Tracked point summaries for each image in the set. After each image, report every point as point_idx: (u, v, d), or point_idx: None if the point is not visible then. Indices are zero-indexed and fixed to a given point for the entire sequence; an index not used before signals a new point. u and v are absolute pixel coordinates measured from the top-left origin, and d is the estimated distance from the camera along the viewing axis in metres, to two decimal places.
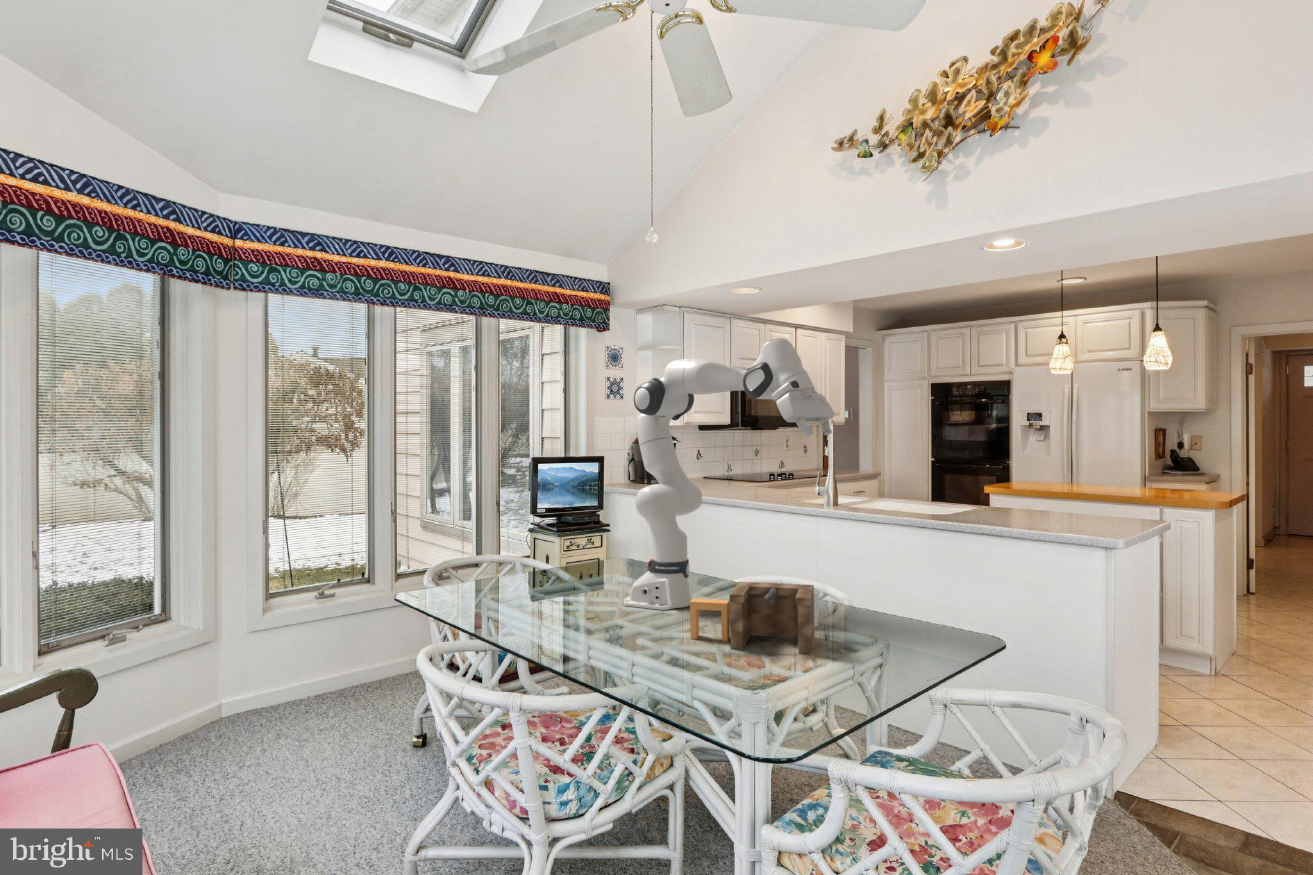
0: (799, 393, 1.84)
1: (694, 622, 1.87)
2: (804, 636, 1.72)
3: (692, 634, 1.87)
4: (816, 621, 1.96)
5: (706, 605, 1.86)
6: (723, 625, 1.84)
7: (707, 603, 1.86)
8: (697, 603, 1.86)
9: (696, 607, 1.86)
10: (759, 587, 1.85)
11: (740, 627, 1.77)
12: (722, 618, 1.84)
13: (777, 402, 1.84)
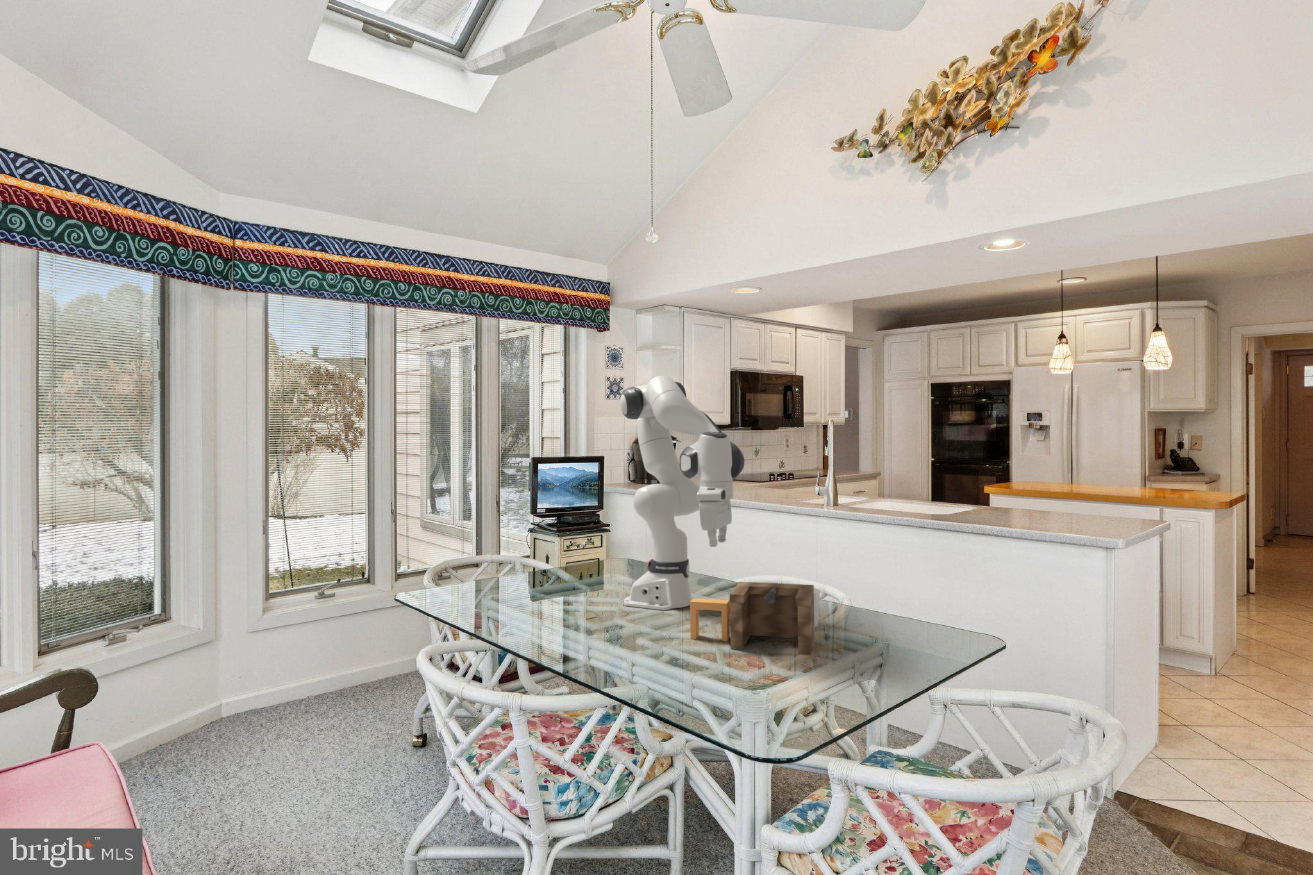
0: (722, 503, 1.80)
1: (694, 622, 1.87)
2: (804, 636, 1.72)
3: (692, 634, 1.87)
4: (816, 621, 1.96)
5: (706, 605, 1.86)
6: (723, 625, 1.84)
7: (707, 603, 1.86)
8: (697, 603, 1.86)
9: (696, 607, 1.86)
10: (759, 587, 1.85)
11: (740, 627, 1.77)
12: (722, 618, 1.84)
13: (701, 505, 1.78)
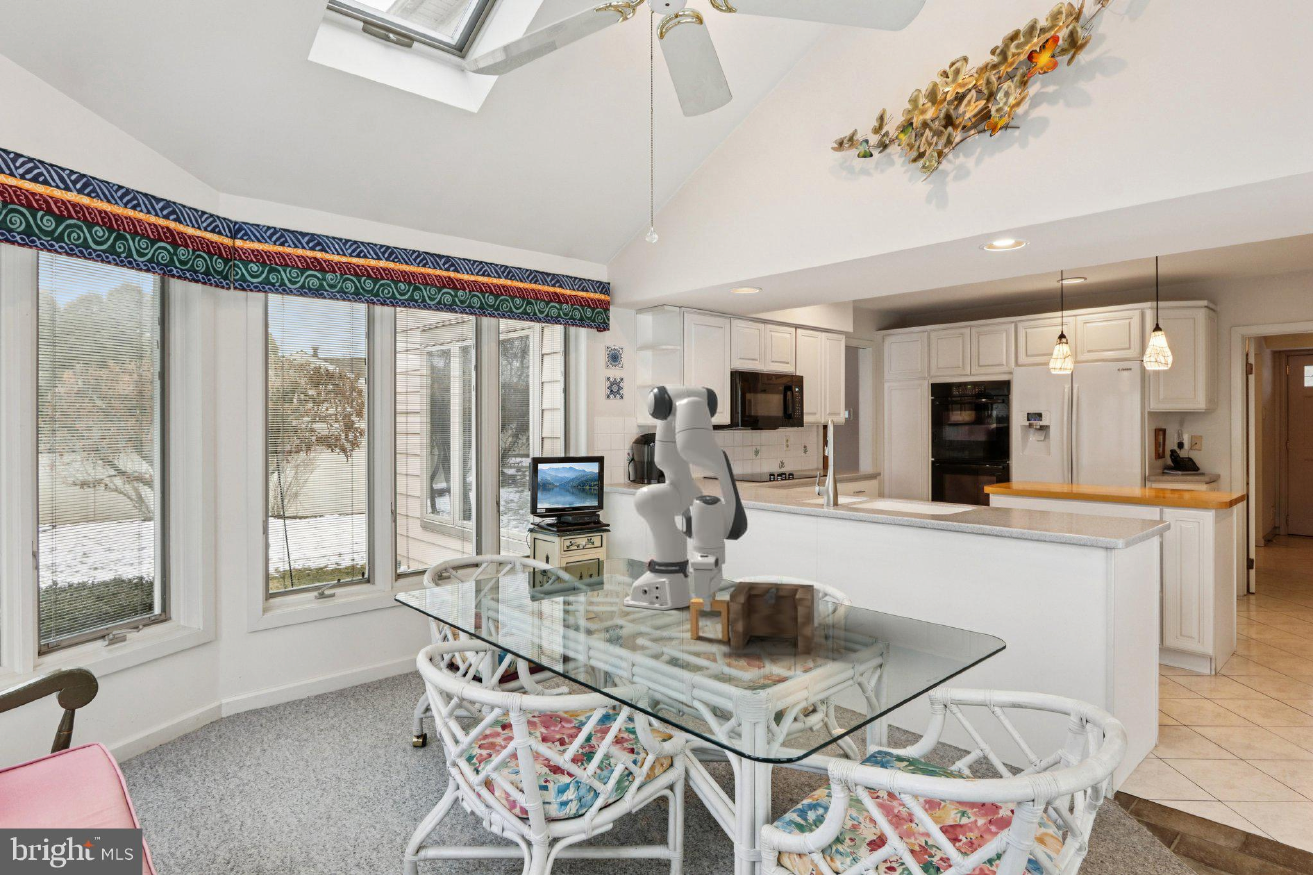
0: (715, 570, 1.82)
1: (694, 622, 1.87)
2: (804, 636, 1.72)
3: (692, 634, 1.87)
4: (816, 621, 1.96)
5: None
6: (723, 625, 1.84)
7: None
8: (697, 603, 1.86)
9: (696, 607, 1.86)
10: (759, 587, 1.85)
11: (740, 627, 1.77)
12: (722, 618, 1.84)
13: (694, 574, 1.79)
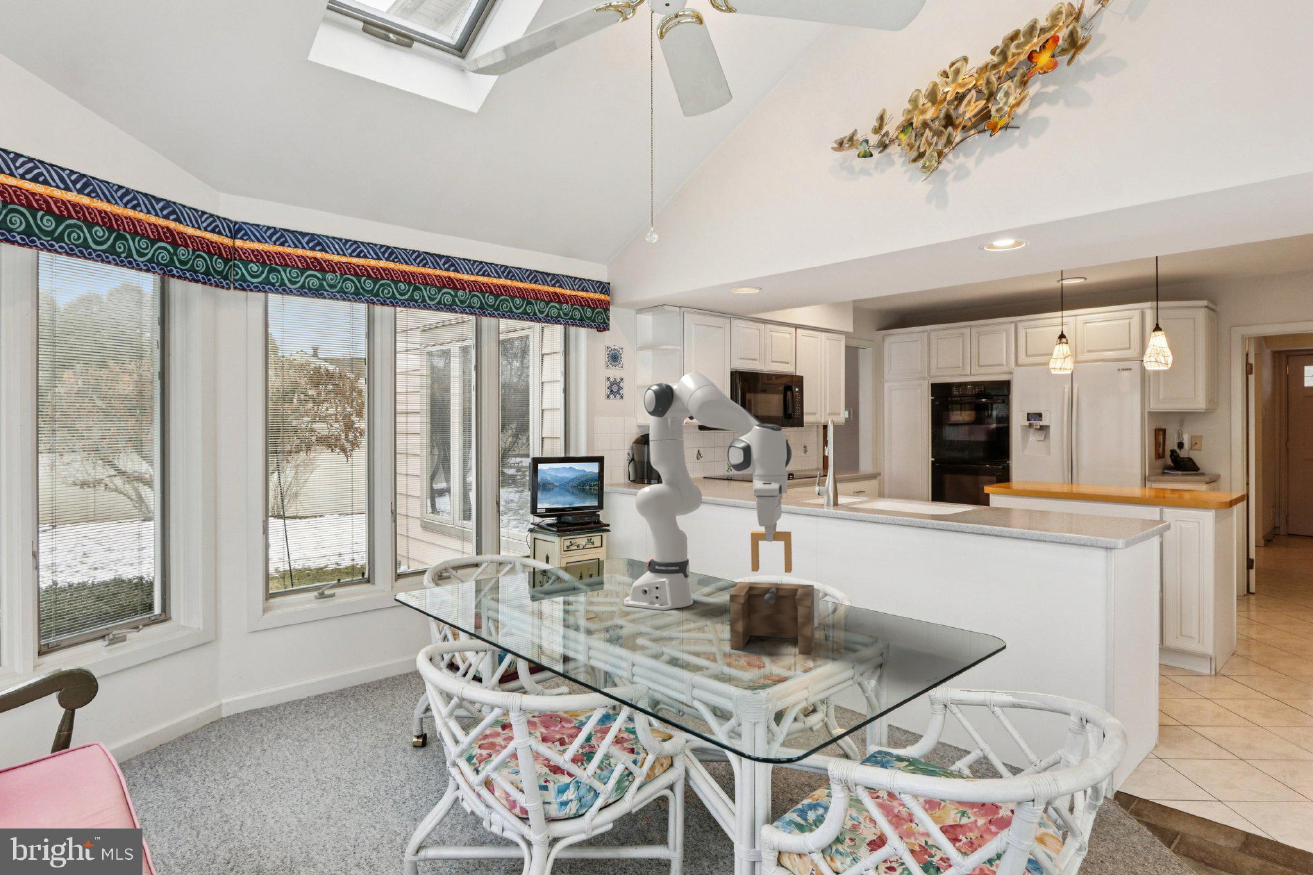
0: (778, 498, 1.75)
1: (755, 554, 1.80)
2: (804, 636, 1.72)
3: (753, 567, 1.80)
4: (816, 621, 1.96)
5: None
6: (786, 556, 1.77)
7: None
8: (758, 534, 1.79)
9: (757, 538, 1.79)
10: (759, 587, 1.85)
11: (740, 627, 1.77)
12: (785, 549, 1.78)
13: (758, 501, 1.72)
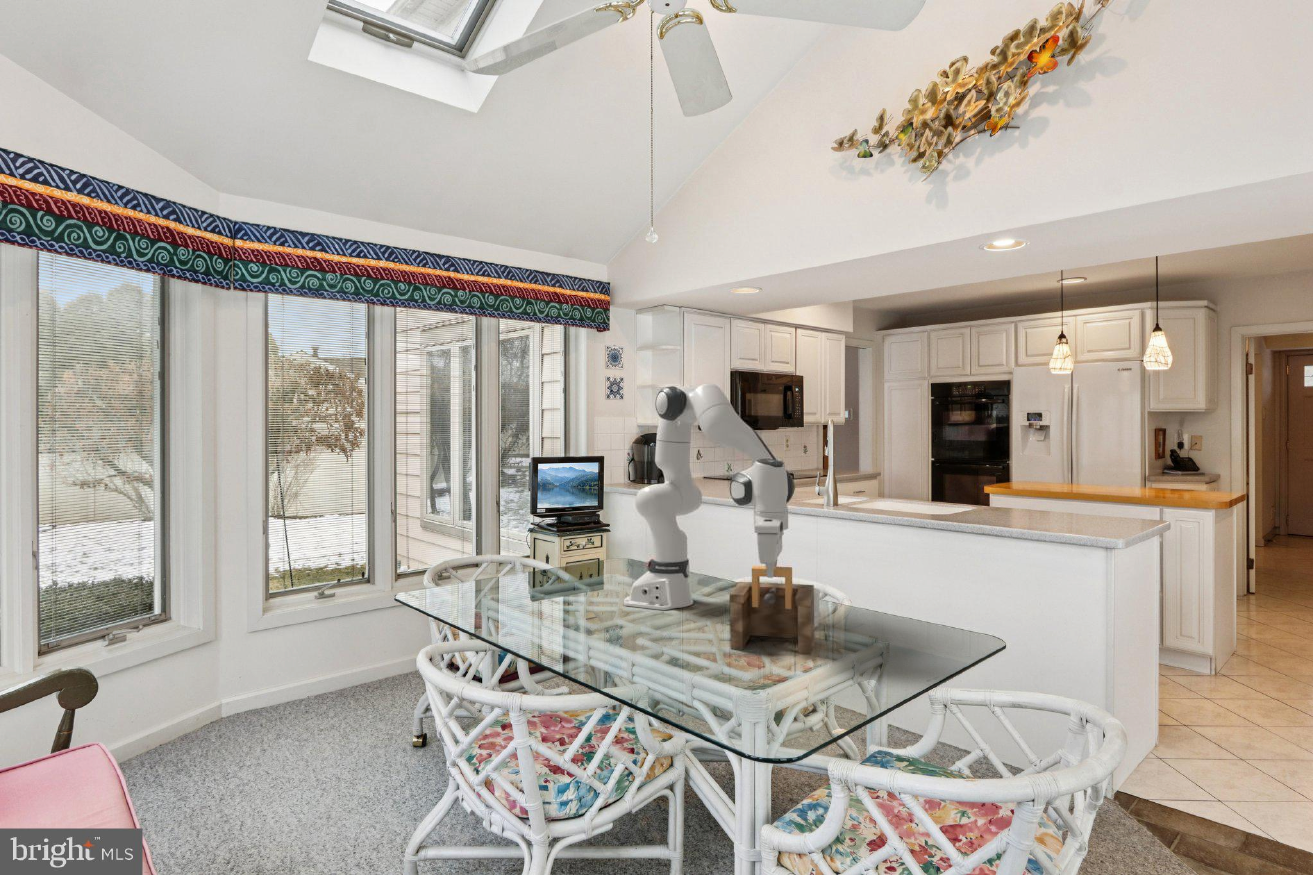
0: (779, 535, 1.75)
1: (756, 590, 1.80)
2: (804, 636, 1.72)
3: (754, 602, 1.80)
4: (816, 621, 1.96)
5: None
6: (787, 592, 1.78)
7: None
8: (759, 570, 1.80)
9: (758, 574, 1.80)
10: None
11: (740, 627, 1.77)
12: (786, 585, 1.78)
13: (759, 538, 1.72)
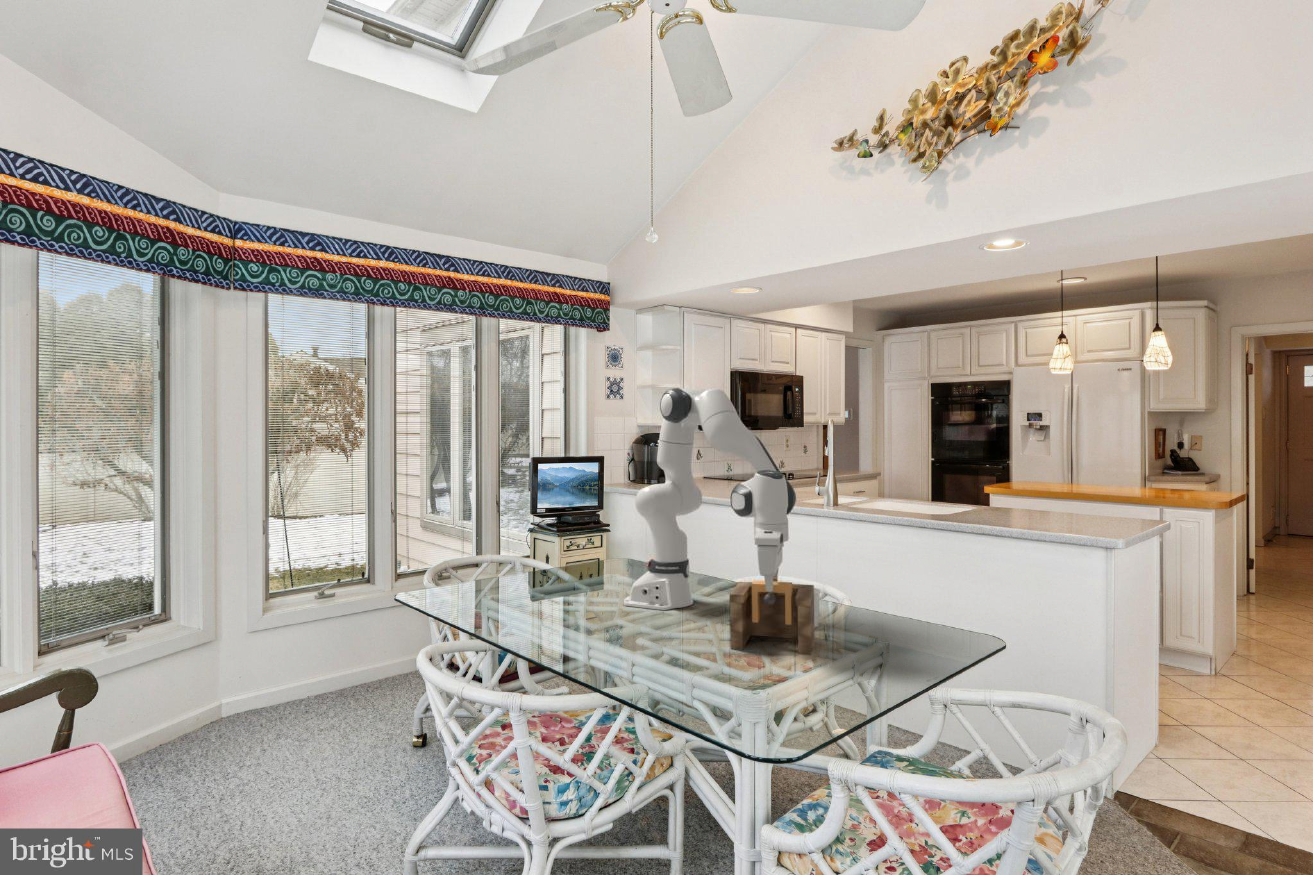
0: (779, 547, 1.75)
1: (756, 605, 1.80)
2: (804, 636, 1.72)
3: (754, 617, 1.80)
4: (816, 621, 1.96)
5: None
6: (787, 608, 1.78)
7: None
8: (759, 585, 1.80)
9: (758, 589, 1.80)
10: None
11: (740, 627, 1.77)
12: (786, 601, 1.78)
13: (759, 550, 1.72)
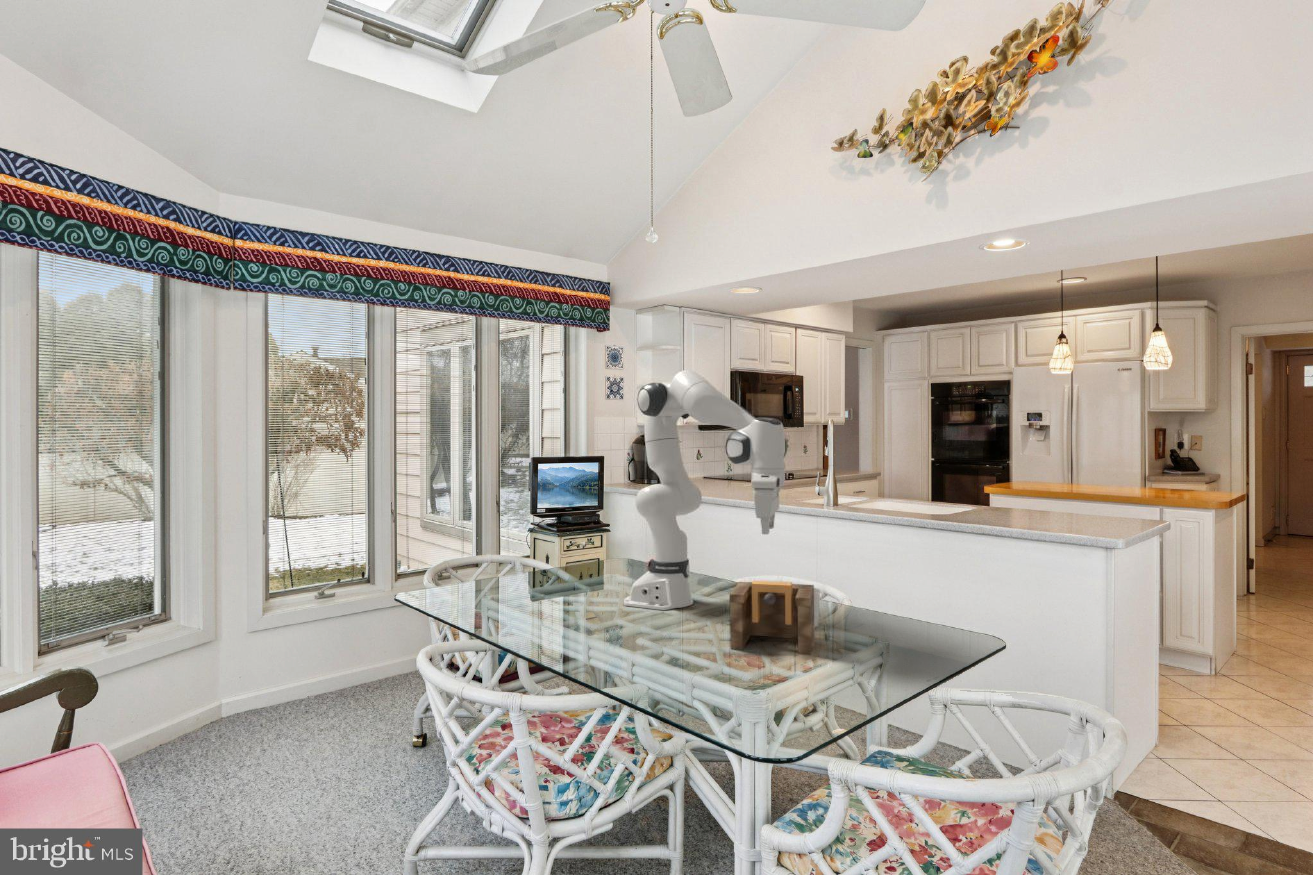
0: (776, 491, 1.78)
1: (756, 605, 1.80)
2: (804, 636, 1.72)
3: (754, 617, 1.80)
4: (816, 621, 1.96)
5: (769, 587, 1.79)
6: (787, 608, 1.78)
7: (770, 585, 1.79)
8: (759, 585, 1.80)
9: (758, 589, 1.80)
10: None
11: (740, 627, 1.77)
12: (786, 601, 1.78)
13: (755, 493, 1.75)
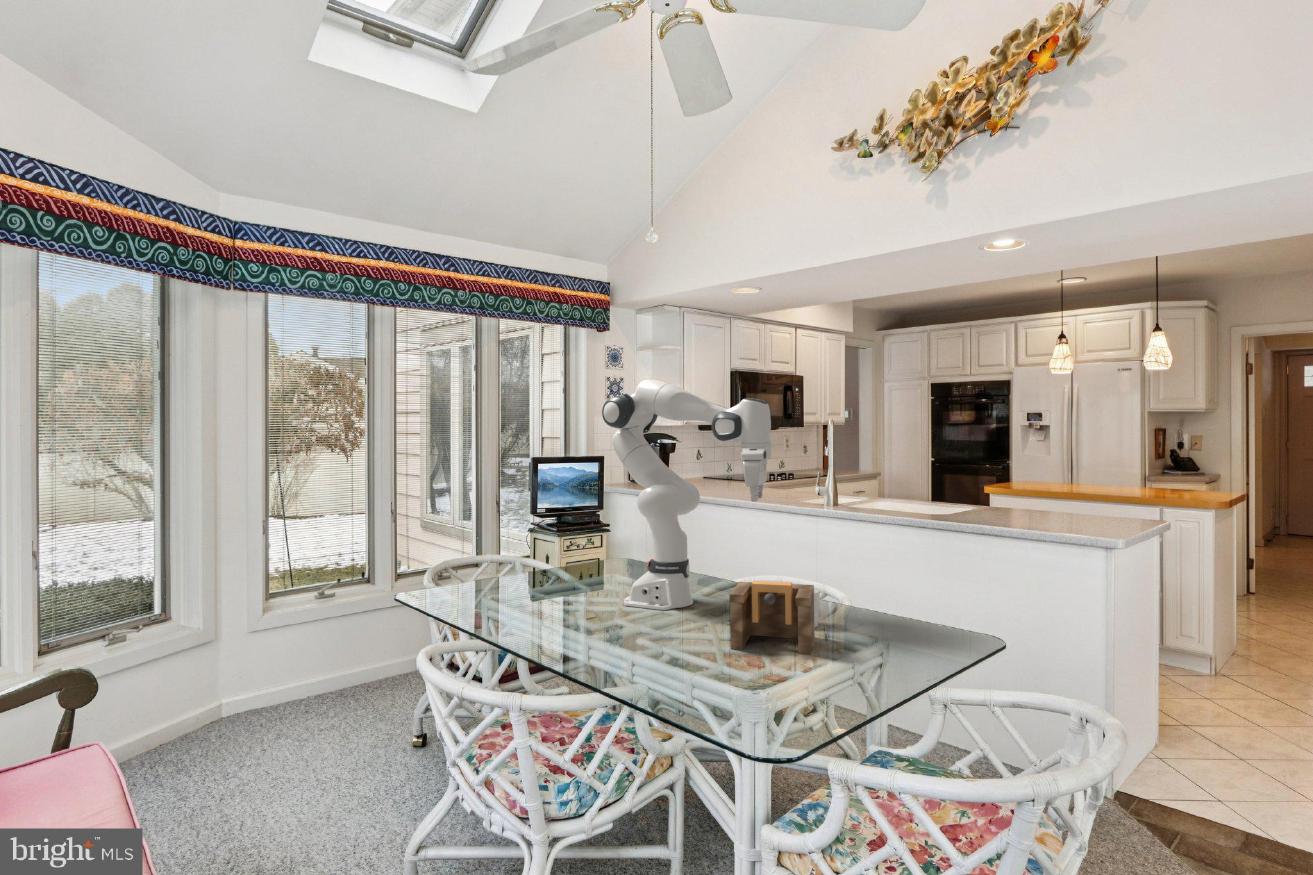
0: (763, 463, 2.00)
1: (756, 605, 1.80)
2: (804, 636, 1.72)
3: (754, 617, 1.80)
4: (816, 621, 1.96)
5: (769, 587, 1.79)
6: (787, 608, 1.78)
7: (770, 585, 1.79)
8: (759, 585, 1.80)
9: (758, 589, 1.80)
10: None
11: (740, 627, 1.77)
12: (786, 601, 1.78)
13: (745, 464, 1.97)
